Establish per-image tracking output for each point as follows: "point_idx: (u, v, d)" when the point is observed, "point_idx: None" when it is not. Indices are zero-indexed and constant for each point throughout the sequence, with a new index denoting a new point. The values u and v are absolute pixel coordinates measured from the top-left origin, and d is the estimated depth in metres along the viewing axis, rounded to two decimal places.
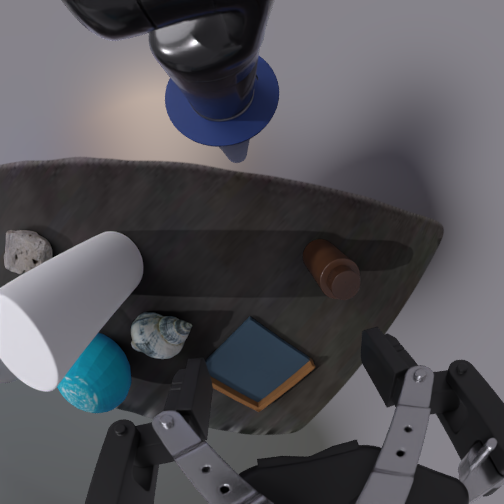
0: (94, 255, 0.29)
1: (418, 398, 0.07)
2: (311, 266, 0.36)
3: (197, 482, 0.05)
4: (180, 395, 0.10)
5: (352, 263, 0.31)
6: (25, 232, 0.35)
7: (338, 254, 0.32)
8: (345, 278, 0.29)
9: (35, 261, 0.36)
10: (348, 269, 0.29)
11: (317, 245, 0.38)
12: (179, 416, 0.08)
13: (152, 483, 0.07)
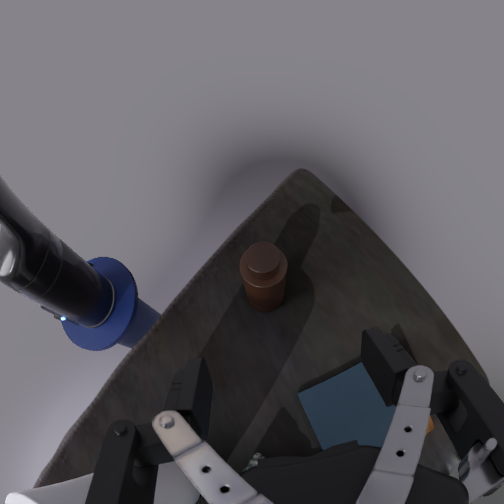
0: None
1: (418, 398, 0.07)
2: (253, 297, 0.33)
3: (197, 482, 0.05)
4: (180, 395, 0.10)
5: None
6: None
7: None
8: (253, 254, 0.28)
9: None
10: None
11: None
12: (179, 416, 0.08)
13: (152, 483, 0.07)
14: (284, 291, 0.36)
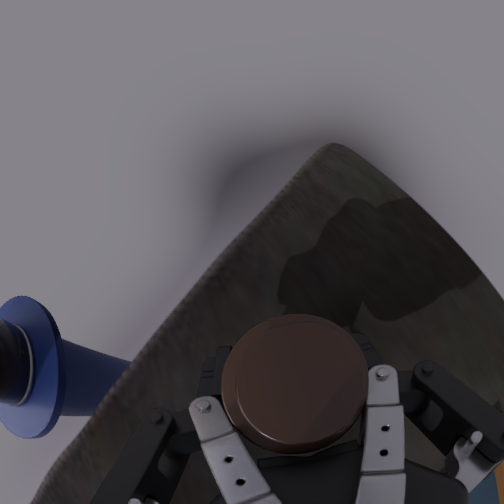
0: None
1: (377, 396, 0.08)
2: None
3: (216, 470, 0.06)
4: (214, 381, 0.10)
5: (261, 328, 0.09)
6: None
7: None
8: (268, 378, 0.07)
9: None
10: None
11: None
12: (216, 401, 0.09)
13: (178, 473, 0.07)
14: None
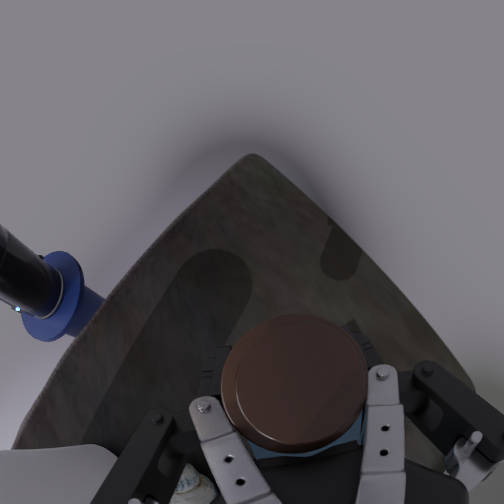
0: (34, 449, 0.16)
1: (377, 396, 0.08)
2: None
3: (216, 470, 0.06)
4: (214, 381, 0.10)
5: (261, 328, 0.09)
6: None
7: None
8: (267, 378, 0.07)
9: None
10: None
11: None
12: (216, 401, 0.09)
13: (178, 473, 0.07)
14: None
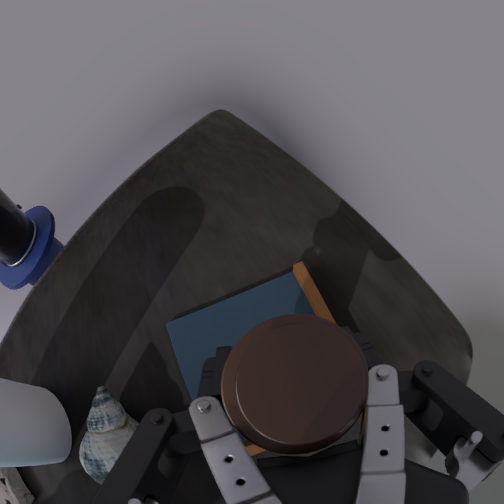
0: None
1: (377, 396, 0.08)
2: None
3: (216, 470, 0.06)
4: (214, 381, 0.10)
5: (261, 328, 0.09)
6: None
7: None
8: (267, 378, 0.07)
9: (6, 483, 0.12)
10: None
11: None
12: (216, 401, 0.09)
13: (178, 473, 0.07)
14: None
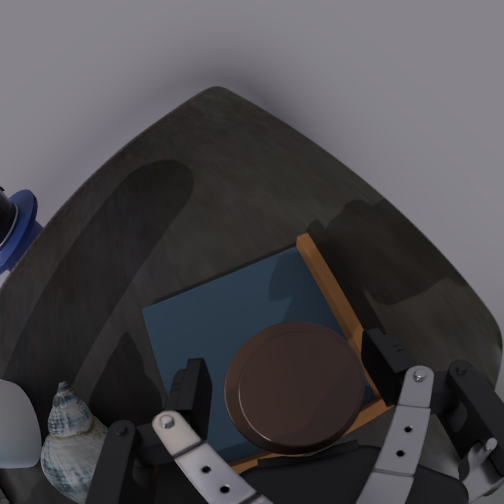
0: None
1: (418, 398, 0.07)
2: None
3: (197, 482, 0.05)
4: (180, 395, 0.10)
5: (262, 335, 0.10)
6: None
7: None
8: (268, 384, 0.07)
9: None
10: None
11: None
12: (179, 416, 0.08)
13: (152, 483, 0.07)
14: None
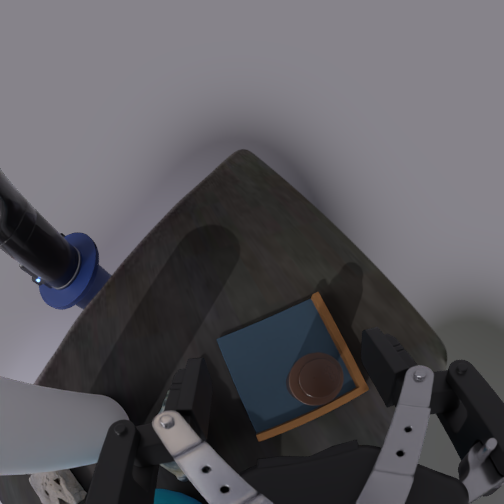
0: None
1: (418, 398, 0.07)
2: None
3: (197, 482, 0.05)
4: (180, 395, 0.10)
5: (303, 358, 0.24)
6: None
7: None
8: (309, 376, 0.21)
9: (60, 483, 0.21)
10: (301, 368, 0.22)
11: (286, 382, 0.29)
12: (179, 416, 0.08)
13: (152, 483, 0.07)
14: None
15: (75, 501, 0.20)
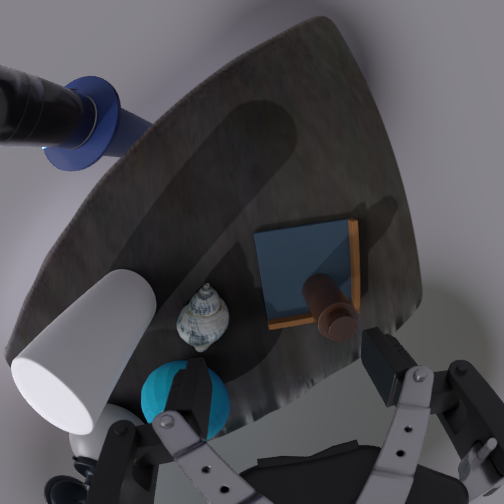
0: (83, 296, 0.30)
1: (418, 398, 0.07)
2: None
3: (197, 482, 0.05)
4: (180, 395, 0.10)
5: (335, 305, 0.31)
6: None
7: (321, 303, 0.33)
8: (336, 327, 0.29)
9: None
10: (333, 318, 0.30)
11: (306, 293, 0.38)
12: (179, 416, 0.08)
13: (152, 483, 0.07)
14: None
15: None
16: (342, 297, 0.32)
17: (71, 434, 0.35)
